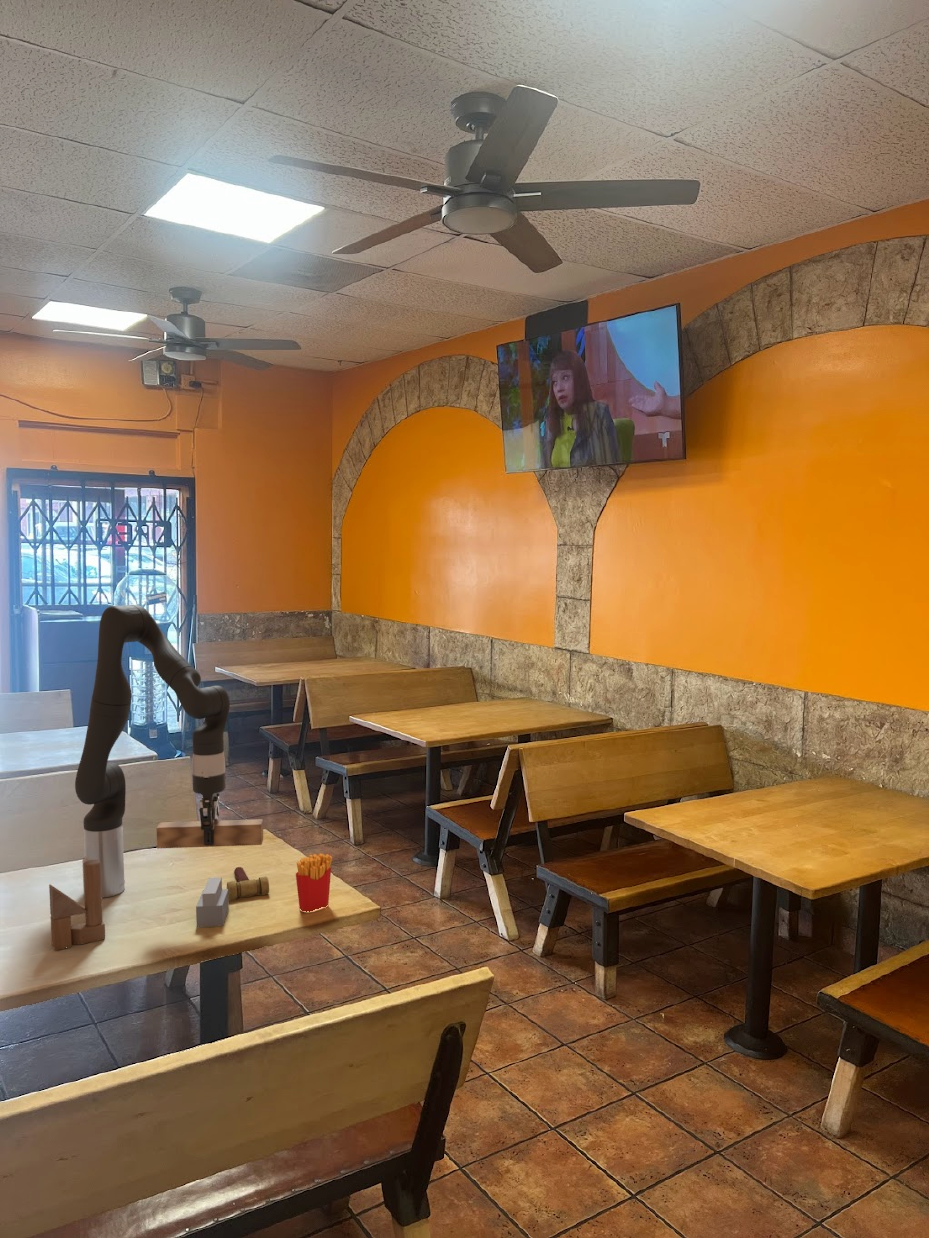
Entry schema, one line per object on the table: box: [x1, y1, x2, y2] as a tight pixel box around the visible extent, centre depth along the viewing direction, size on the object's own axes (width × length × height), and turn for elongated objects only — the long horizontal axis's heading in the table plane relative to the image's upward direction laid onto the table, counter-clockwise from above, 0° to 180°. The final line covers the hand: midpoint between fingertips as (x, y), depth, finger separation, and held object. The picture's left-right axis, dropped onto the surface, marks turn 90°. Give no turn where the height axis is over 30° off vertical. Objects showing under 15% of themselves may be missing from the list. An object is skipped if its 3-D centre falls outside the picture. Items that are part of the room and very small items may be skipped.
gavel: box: [226, 866, 270, 901], centre depth 240 cm, size 21×5×10 cm
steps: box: [195, 876, 230, 928], centre depth 219 cm, size 6×10×8 cm, turn 7°
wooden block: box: [48, 860, 106, 951], centre depth 205 cm, size 4×11×18 cm, turn 125°
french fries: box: [295, 852, 333, 912], centre depth 224 cm, size 9×4×13 cm, turn 128°
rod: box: [156, 818, 264, 850], centre depth 217 cm, size 24×4×5 cm, turn 97°
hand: (210, 841), depth 217 cm, fingers closed on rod, 4 cm apart
